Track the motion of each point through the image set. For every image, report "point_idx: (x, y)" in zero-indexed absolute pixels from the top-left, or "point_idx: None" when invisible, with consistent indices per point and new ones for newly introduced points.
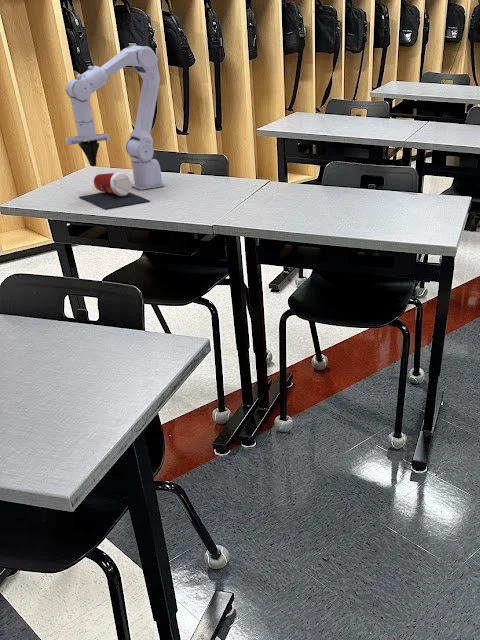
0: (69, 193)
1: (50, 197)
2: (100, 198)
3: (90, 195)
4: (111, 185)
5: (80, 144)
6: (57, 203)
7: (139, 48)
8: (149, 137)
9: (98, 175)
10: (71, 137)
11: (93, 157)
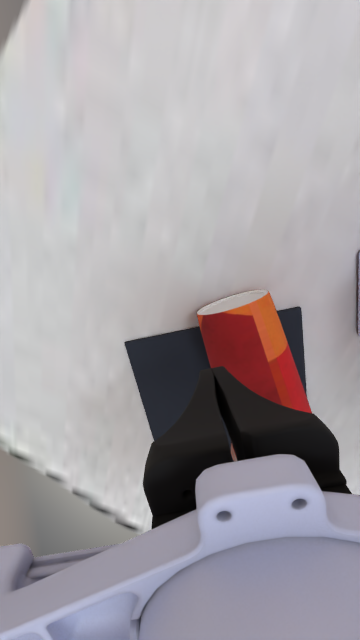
0: (96, 255)
1: (19, 288)
2: (187, 399)
3: (164, 346)
4: (234, 458)
5: (156, 513)
6: (44, 382)
7: None
8: None
9: (228, 338)
10: (30, 627)
11: (231, 440)
